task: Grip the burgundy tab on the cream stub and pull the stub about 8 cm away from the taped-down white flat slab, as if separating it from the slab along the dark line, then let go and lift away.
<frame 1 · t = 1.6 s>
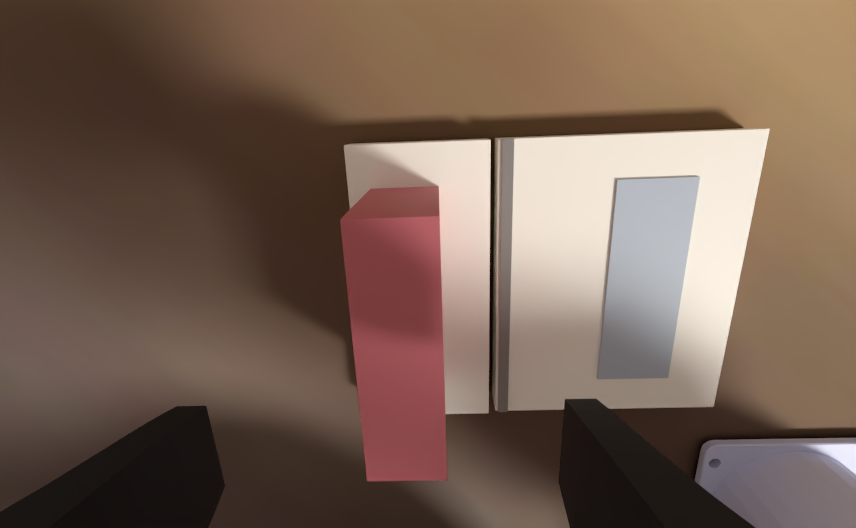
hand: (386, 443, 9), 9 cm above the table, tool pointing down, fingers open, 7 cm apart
white flat slab: (605, 275, 17), on the table
stub: (421, 314, 15), point 3 cm above the table, slide at 0.0 cm
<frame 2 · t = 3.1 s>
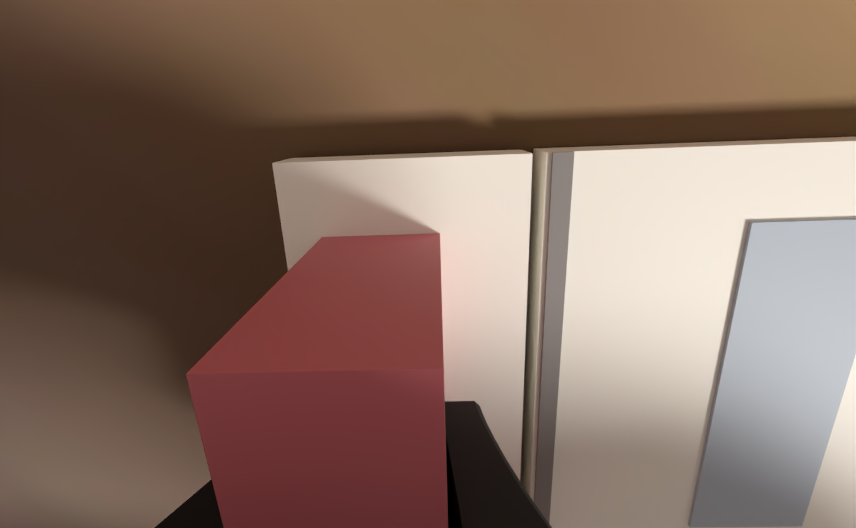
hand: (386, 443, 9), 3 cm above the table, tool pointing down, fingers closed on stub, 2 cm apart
white flat slab: (701, 363, 11), on the table
stub: (409, 464, 8), point 3 cm above the table, slide at 0.0 cm, touching gripper
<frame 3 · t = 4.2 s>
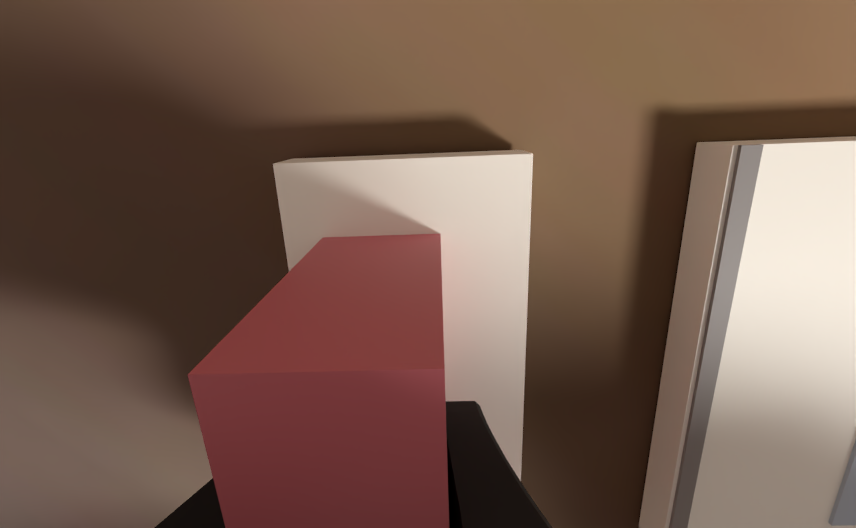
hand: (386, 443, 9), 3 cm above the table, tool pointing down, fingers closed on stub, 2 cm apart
white flat slab: (843, 360, 11), on the table
stub: (410, 464, 8), point 3 cm above the table, slide at 3.5 cm, touching gripper
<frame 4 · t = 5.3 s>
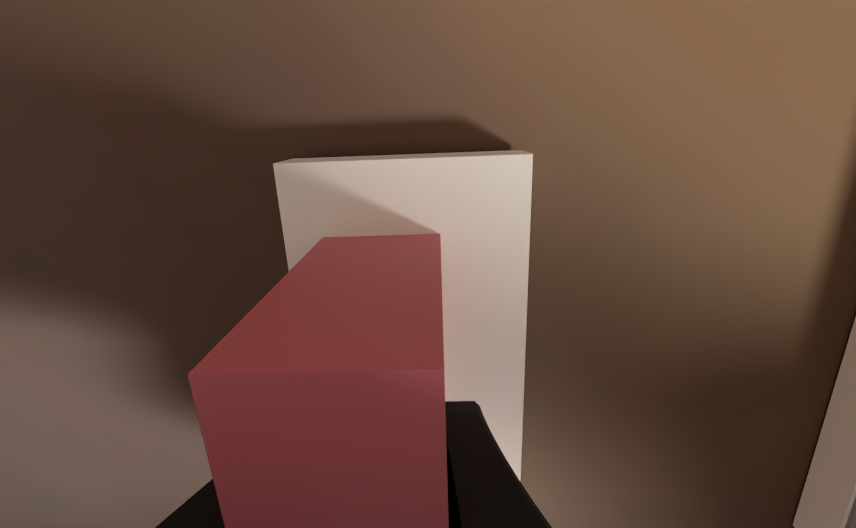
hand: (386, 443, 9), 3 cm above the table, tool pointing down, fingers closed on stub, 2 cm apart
stub: (410, 464, 8), point 3 cm above the table, slide at 8.0 cm, touching gripper
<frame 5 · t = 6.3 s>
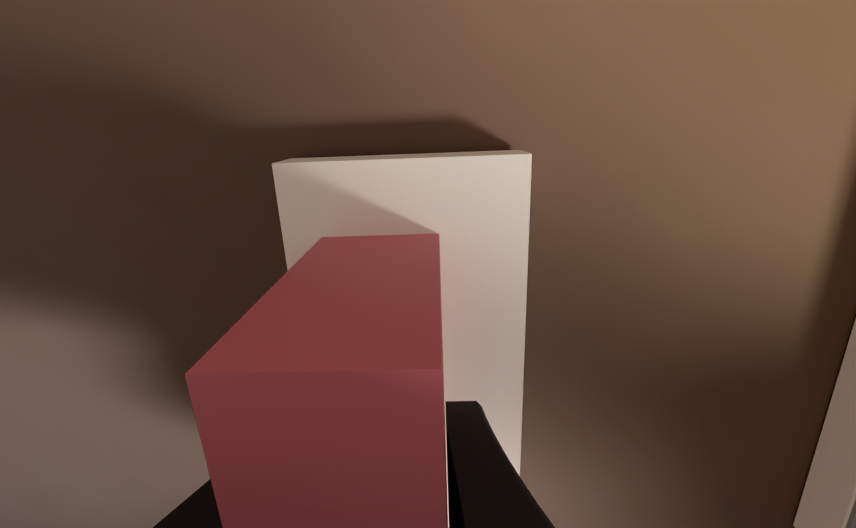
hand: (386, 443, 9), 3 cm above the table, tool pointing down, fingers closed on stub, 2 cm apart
stub: (409, 464, 8), point 3 cm above the table, slide at 8.0 cm, touching gripper
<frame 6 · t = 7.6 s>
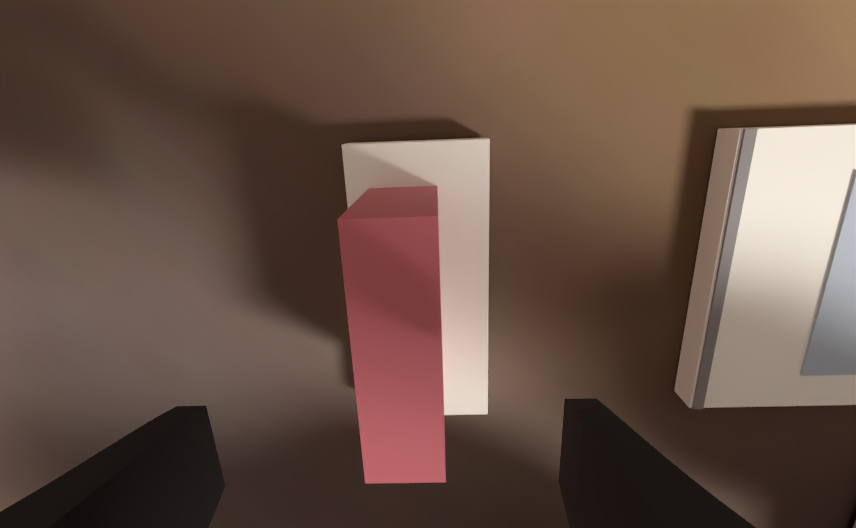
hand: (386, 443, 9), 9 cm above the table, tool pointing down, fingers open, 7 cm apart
white flat slab: (809, 269, 17), on the table
stub: (420, 314, 14), point 3 cm above the table, slide at 8.0 cm
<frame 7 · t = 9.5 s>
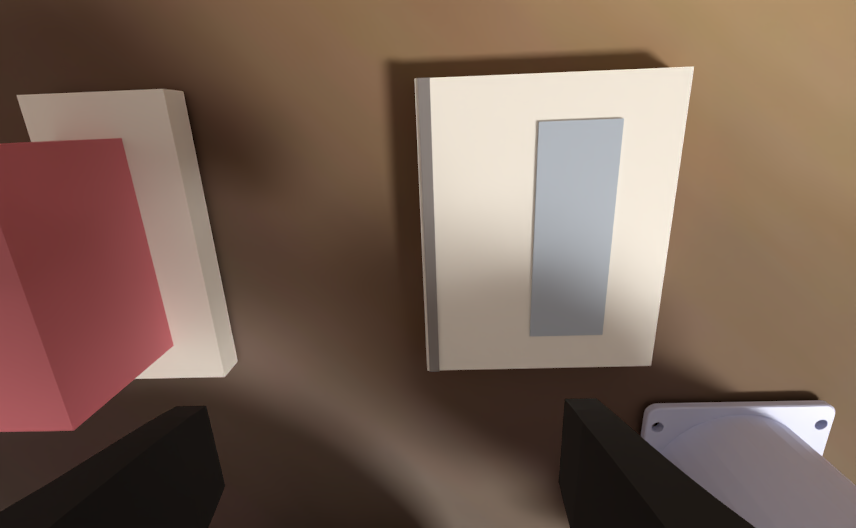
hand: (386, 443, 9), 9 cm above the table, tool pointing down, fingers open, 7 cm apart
white flat slab: (537, 228, 17), on the table
stub: (92, 266, 14), point 3 cm above the table, slide at 8.0 cm
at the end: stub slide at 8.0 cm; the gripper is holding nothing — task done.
